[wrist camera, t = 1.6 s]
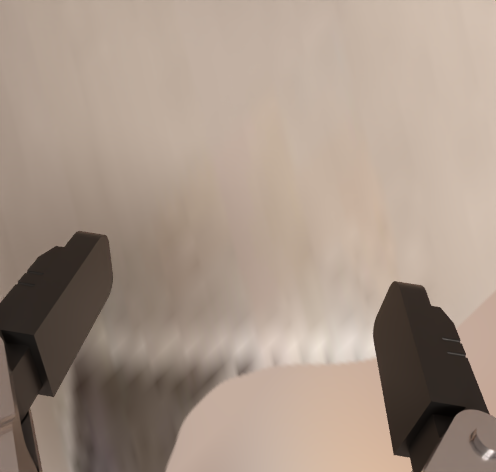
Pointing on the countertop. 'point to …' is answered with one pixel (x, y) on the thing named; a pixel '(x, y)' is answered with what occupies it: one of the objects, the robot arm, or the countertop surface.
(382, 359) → the robot arm
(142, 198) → the countertop surface
